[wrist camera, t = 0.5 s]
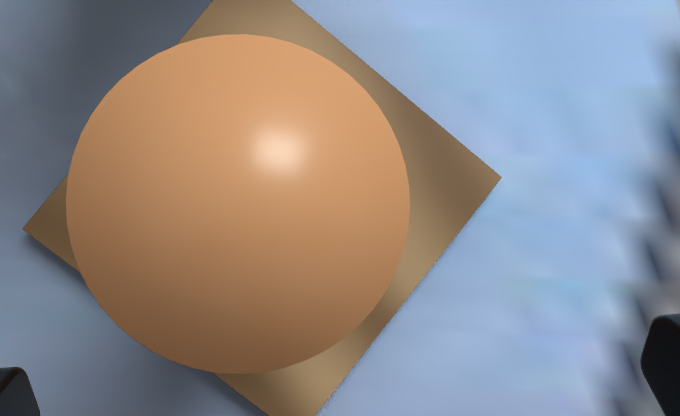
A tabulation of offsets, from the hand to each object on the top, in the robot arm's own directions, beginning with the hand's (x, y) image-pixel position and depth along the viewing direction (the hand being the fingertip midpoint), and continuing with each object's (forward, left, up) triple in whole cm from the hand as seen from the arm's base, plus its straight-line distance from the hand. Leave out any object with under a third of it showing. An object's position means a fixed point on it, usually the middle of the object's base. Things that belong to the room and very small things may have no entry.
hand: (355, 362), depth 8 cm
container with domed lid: (+1, +3, -12) cm, 13 cm away
